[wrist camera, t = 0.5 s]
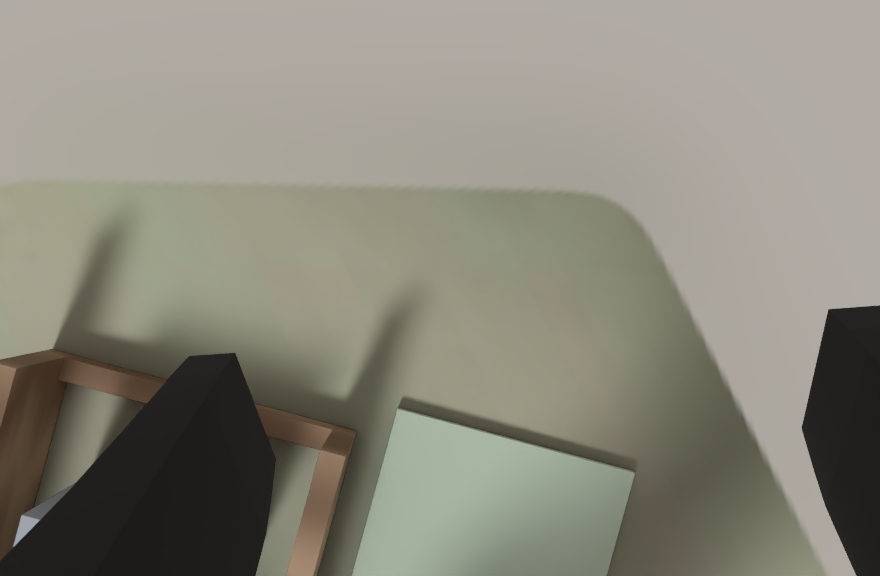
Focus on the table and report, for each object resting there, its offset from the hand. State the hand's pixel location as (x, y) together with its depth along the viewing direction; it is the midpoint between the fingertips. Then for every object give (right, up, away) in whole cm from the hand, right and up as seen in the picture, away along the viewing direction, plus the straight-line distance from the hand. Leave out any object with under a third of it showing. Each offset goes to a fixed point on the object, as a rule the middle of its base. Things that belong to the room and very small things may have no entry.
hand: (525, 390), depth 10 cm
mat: (+1, -10, +26) cm, 28 cm away
